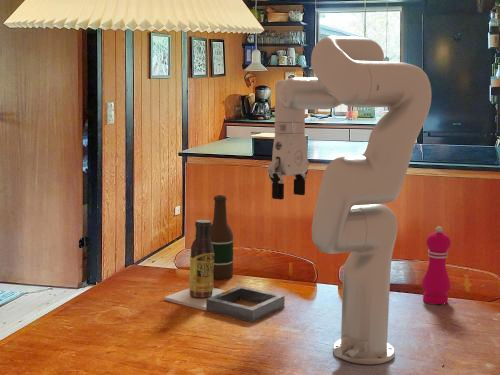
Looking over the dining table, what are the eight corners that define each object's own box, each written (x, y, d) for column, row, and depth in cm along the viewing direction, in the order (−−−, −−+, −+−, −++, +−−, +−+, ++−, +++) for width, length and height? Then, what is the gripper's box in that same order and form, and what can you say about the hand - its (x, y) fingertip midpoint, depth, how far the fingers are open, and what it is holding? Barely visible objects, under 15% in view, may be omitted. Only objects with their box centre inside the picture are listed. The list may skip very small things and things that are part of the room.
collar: (252, 322, 154) (252, 308, 153) (206, 310, 162) (206, 297, 161) (284, 307, 165) (284, 294, 165) (239, 296, 173) (239, 284, 173)
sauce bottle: (197, 300, 167) (197, 224, 164) (184, 294, 172) (184, 220, 169) (218, 296, 171) (219, 221, 168) (206, 290, 176) (206, 217, 173)
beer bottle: (222, 271, 198) (222, 192, 194) (238, 277, 192) (239, 196, 188) (201, 275, 193) (201, 195, 189) (217, 281, 187) (217, 198, 183)
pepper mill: (415, 301, 171) (419, 226, 169) (430, 295, 176) (433, 222, 174) (440, 307, 166) (444, 230, 163) (454, 301, 171) (459, 226, 168)
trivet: (206, 310, 162) (206, 307, 162) (164, 299, 170) (164, 296, 170) (239, 296, 173) (239, 293, 173) (198, 287, 181) (198, 284, 181)
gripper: (282, 130, 155) (281, 202, 157) (320, 128, 169) (319, 194, 171) (257, 129, 160) (256, 199, 162) (295, 128, 173) (295, 191, 176)
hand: (288, 196), depth 166 cm, fingers open, 9 cm apart
